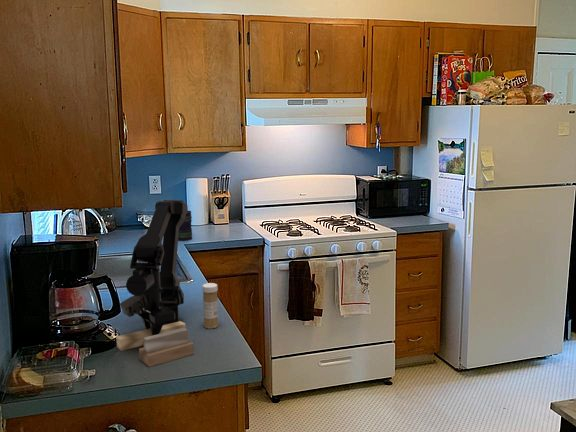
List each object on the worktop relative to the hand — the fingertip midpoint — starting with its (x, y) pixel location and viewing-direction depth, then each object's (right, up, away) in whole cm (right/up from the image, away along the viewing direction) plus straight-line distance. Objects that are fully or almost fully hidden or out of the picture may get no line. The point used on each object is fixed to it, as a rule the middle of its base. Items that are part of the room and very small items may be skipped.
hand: (152, 337), depth 164 cm
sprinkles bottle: (+15, +1, +11) cm, 19 cm away
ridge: (+7, -3, -11) cm, 13 cm away
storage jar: (-17, +22, +140) cm, 142 cm away
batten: (0, -1, 0) cm, 1 cm away
